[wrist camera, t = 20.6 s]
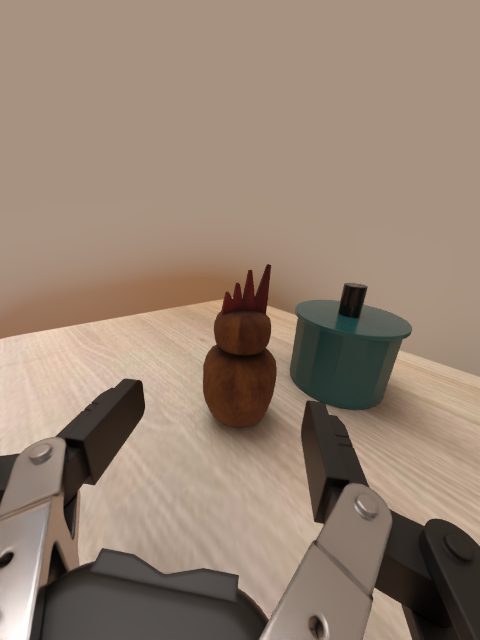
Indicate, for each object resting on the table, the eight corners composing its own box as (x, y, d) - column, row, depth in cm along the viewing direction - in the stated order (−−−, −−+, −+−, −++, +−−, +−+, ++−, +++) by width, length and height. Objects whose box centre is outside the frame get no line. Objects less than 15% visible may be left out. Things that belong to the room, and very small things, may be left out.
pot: (329, 351, 37) (340, 301, 34) (402, 392, 28) (426, 329, 25) (273, 366, 32) (280, 308, 29) (340, 423, 23) (360, 347, 20)
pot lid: (339, 303, 35) (345, 273, 34) (432, 335, 25) (447, 294, 24) (274, 312, 30) (278, 277, 28) (360, 357, 20) (374, 306, 18)
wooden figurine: (271, 399, 26) (288, 263, 20) (269, 443, 20) (292, 272, 15) (212, 391, 26) (214, 257, 21) (195, 430, 21) (192, 265, 16)
